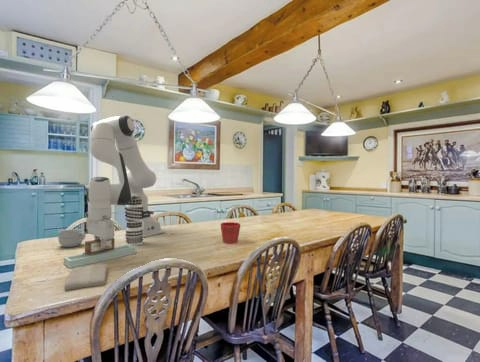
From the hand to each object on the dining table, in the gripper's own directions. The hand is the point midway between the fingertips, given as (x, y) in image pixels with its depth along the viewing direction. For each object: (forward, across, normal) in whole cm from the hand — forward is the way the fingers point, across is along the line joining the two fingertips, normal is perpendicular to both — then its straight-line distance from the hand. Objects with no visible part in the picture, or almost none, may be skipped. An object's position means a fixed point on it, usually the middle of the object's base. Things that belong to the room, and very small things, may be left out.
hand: (100, 246), depth 119 cm
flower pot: (+5, -22, -58) cm, 62 cm away
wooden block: (+2, 0, 0) cm, 2 cm away
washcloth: (+6, -21, +12) cm, 25 cm away
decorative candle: (+5, +12, -22) cm, 26 cm away
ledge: (+5, -1, 0) cm, 5 cm away
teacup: (+5, +30, +1) cm, 31 cm away
